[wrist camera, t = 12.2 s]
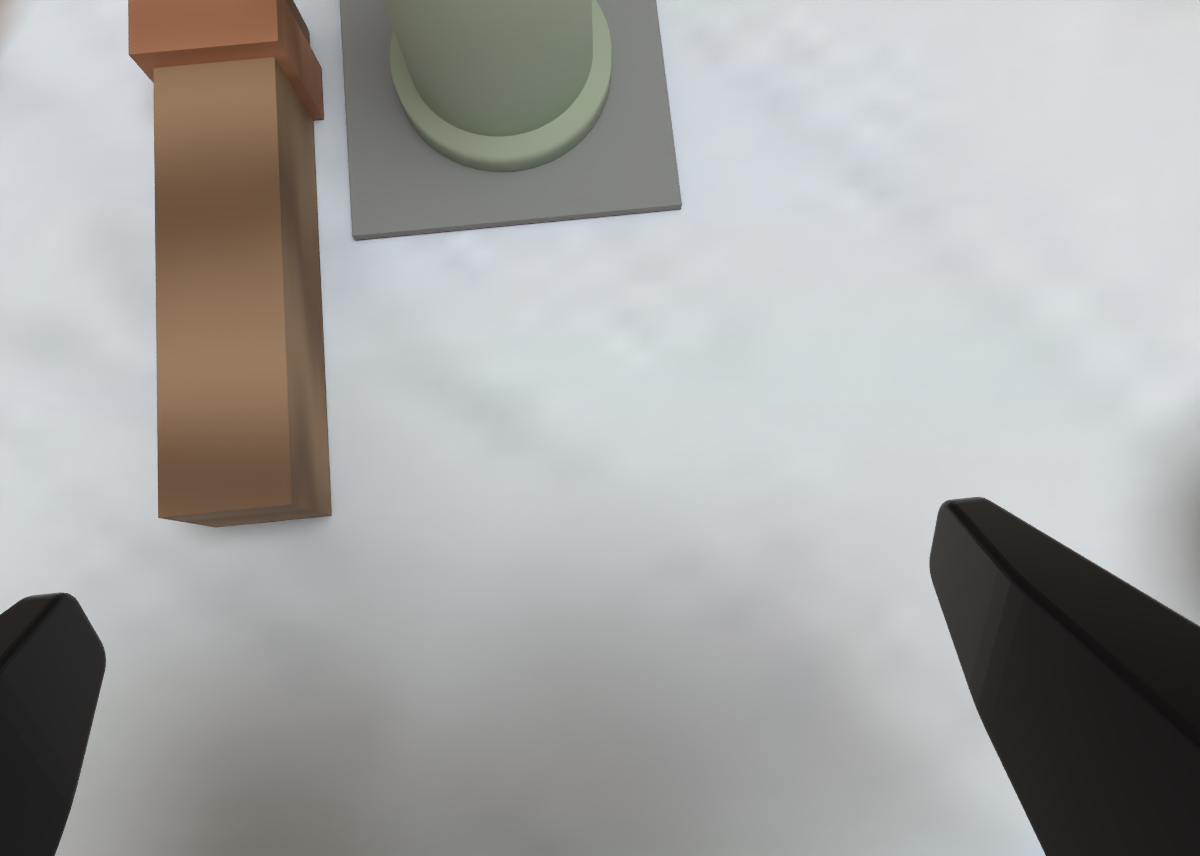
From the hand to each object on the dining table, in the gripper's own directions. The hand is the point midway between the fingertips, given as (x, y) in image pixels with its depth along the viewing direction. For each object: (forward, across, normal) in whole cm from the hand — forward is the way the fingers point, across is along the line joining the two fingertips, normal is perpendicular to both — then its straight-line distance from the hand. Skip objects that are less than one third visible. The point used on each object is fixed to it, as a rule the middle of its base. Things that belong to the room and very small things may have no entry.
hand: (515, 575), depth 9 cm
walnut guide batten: (+16, +7, +3) cm, 18 cm away
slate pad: (+20, 0, -1) cm, 20 cm away
